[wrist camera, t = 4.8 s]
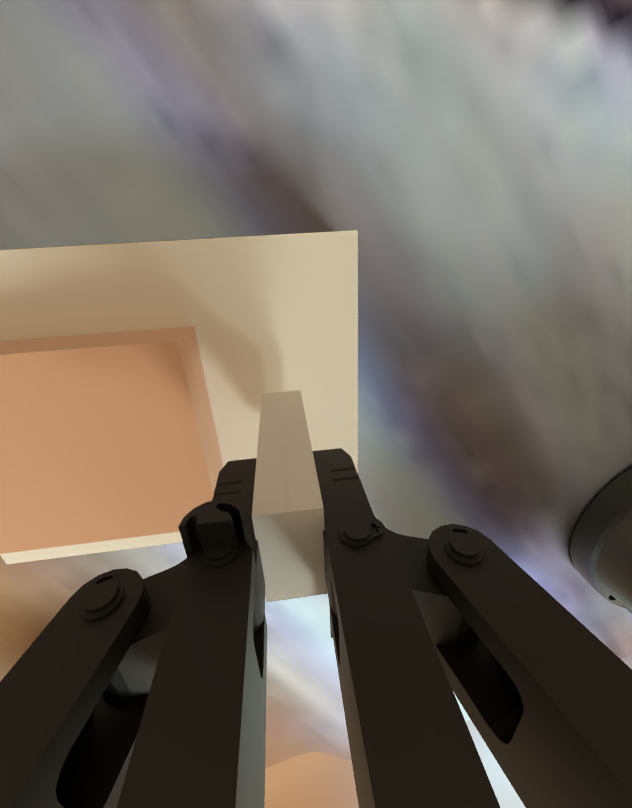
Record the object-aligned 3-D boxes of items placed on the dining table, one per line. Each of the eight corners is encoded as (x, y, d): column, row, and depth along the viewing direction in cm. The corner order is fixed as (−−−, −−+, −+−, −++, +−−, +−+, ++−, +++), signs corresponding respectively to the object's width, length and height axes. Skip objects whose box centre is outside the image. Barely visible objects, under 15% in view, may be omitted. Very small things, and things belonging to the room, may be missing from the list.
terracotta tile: (194, 326, 13) (177, 340, 11) (228, 489, 16) (221, 526, 14) (-57, 345, 12) (-130, 365, 10) (34, 512, 15) (-6, 554, 13)
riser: (338, 236, 16) (357, 230, 12) (344, 474, 21) (358, 519, 18) (-71, 259, 14) (-190, 260, 11) (54, 508, 20) (6, 564, 16)
